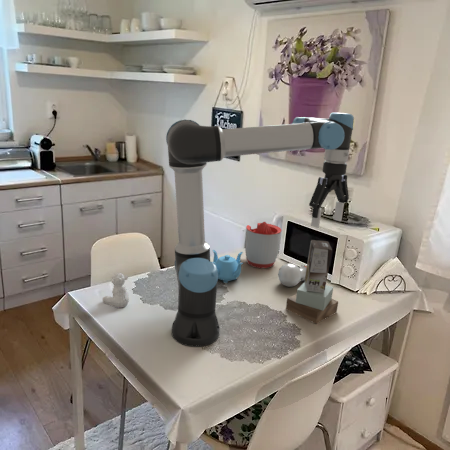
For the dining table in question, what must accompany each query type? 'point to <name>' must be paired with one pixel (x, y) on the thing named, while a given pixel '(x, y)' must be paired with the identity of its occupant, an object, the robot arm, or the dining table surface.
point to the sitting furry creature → (118, 292)
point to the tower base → (311, 310)
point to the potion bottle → (291, 274)
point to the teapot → (227, 267)
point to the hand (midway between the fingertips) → (326, 223)
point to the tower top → (314, 297)
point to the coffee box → (318, 266)
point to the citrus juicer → (262, 245)
